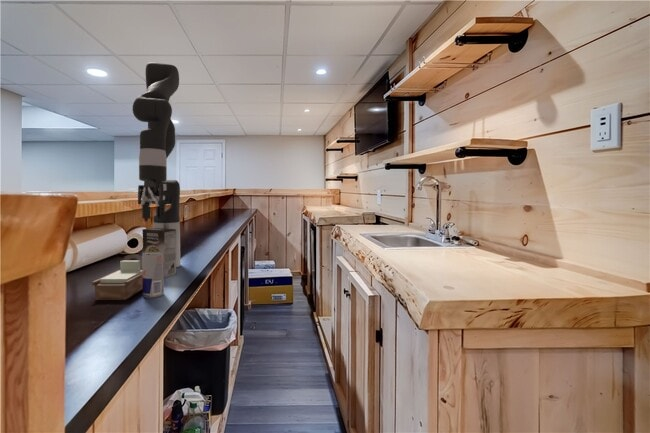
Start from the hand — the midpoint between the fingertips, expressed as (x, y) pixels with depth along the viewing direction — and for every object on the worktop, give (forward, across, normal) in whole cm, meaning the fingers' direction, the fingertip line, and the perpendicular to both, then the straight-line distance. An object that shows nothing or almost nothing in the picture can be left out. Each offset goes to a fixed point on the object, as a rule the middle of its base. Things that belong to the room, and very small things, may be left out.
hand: (153, 218), depth 110 cm
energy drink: (+22, -8, +4) cm, 23 cm away
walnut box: (+21, +1, +8) cm, 23 cm away
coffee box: (+20, +14, -10) cm, 26 cm away
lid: (+17, +1, +8) cm, 19 cm away
